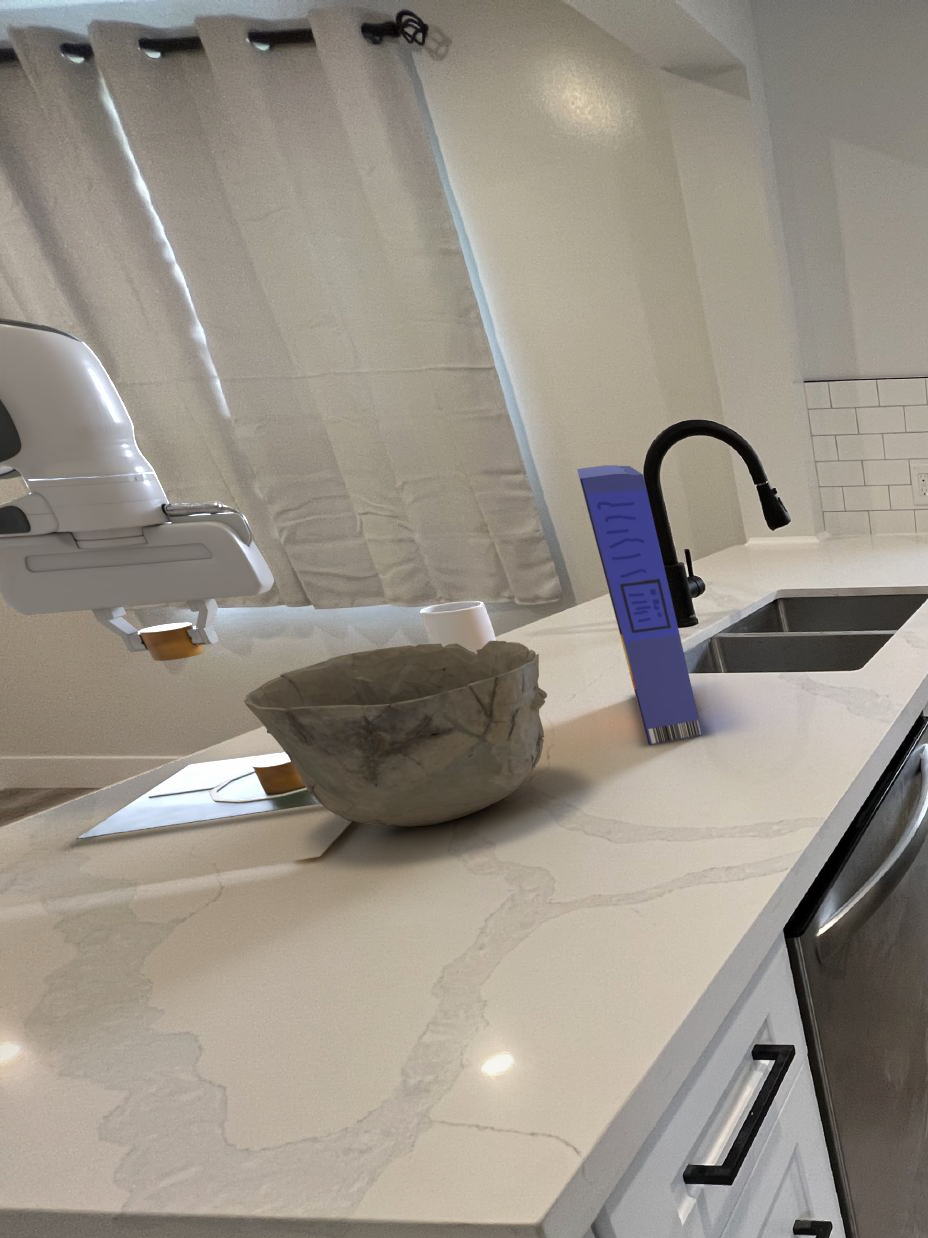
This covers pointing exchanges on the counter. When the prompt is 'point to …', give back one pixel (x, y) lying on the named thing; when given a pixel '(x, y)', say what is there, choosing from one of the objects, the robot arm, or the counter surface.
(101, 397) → the robot arm
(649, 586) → the cereal box
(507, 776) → the bowl
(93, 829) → the board
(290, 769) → the orange white short cylinder
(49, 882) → the counter surface
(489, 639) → the white plastic cylinder
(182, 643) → the short orange cylinder
